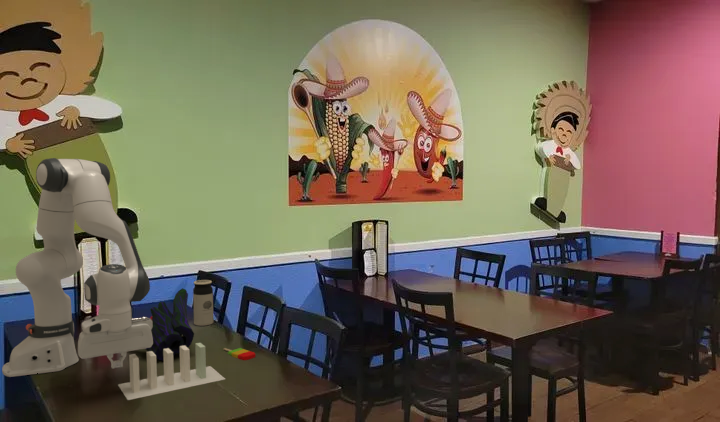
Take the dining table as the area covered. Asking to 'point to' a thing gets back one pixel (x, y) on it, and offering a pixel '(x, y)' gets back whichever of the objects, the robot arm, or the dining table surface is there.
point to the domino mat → (164, 387)
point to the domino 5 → (200, 360)
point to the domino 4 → (185, 363)
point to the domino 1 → (134, 373)
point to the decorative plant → (171, 326)
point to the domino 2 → (151, 370)
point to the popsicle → (241, 353)
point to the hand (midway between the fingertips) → (117, 367)
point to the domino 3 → (168, 366)
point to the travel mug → (203, 302)
